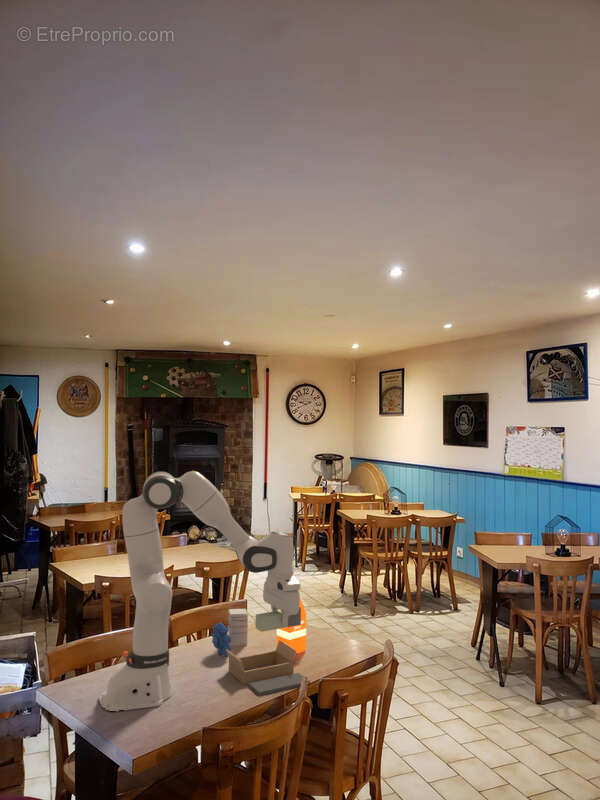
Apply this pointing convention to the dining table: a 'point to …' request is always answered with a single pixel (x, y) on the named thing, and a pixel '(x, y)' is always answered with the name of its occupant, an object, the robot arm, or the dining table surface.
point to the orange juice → (294, 633)
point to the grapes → (221, 639)
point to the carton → (280, 656)
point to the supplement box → (238, 627)
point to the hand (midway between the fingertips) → (280, 621)
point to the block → (276, 620)
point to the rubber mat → (277, 684)
